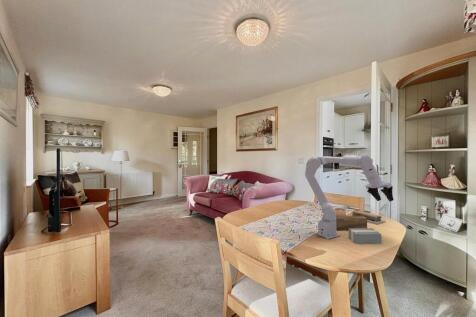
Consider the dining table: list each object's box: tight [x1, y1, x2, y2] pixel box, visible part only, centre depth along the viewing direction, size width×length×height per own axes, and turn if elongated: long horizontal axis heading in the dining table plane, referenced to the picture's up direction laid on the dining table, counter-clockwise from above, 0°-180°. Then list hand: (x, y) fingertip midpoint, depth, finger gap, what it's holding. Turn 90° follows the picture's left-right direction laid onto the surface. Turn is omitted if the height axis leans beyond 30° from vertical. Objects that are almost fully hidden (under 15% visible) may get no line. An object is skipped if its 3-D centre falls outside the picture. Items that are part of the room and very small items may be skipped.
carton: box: [348, 227, 383, 245], centre depth 107 cm, size 8×12×5 cm, turn 86°
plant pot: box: [333, 207, 347, 216], centre depth 142 cm, size 7×7×7 cm
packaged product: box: [351, 210, 387, 226], centre depth 140 cm, size 18×5×10 cm
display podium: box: [336, 215, 368, 231], centre depth 124 cm, size 5×18×7 cm, turn 86°
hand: (385, 200), depth 109 cm, fingers open, 7 cm apart
